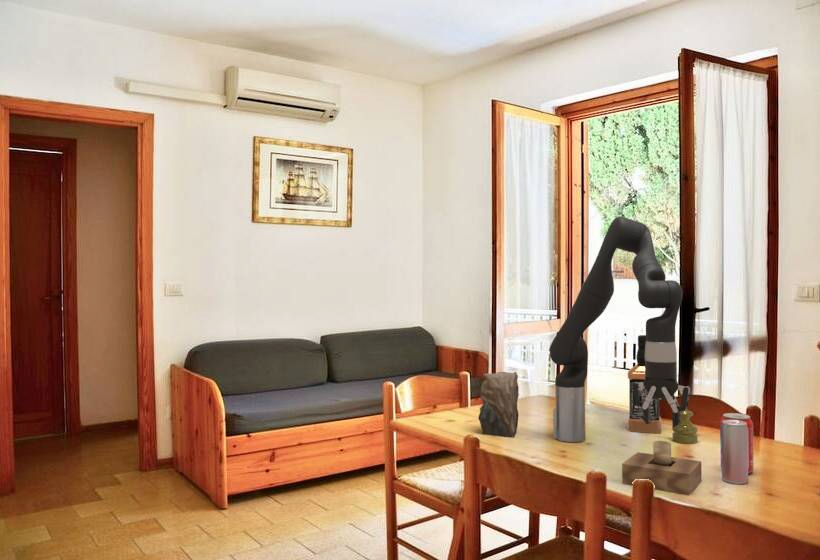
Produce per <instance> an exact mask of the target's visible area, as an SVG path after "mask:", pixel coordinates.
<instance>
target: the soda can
mask: <svg viewBox="0 0 820 560" xmlns="http://www.w3.org/2000/svg"><path fill="white" fill-rule="evenodd" d="M724 420H739V421H744V422H746V423H747V427H748V475H749V474H750V473H753V472H754V469H755V467H754V465H755V463H754V423H753V421H752V420H751V416H750V415H748V414H743V413H733V412H730V413H729V412H727V413H723V414H722V418H721V419H720V421H719V431H720V433H719V434H720V436H719V438H720V439H719V440H720V441H719V442H720V443H719V444H720V445H719V447H720V469H722V430H721V426H722V421H724Z"/></svg>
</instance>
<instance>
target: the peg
mask: <svg viewBox="0 0 820 560" xmlns="http://www.w3.org/2000/svg"><path fill="white" fill-rule="evenodd" d="M652 443H653V446H652V447H653V448H652V449H653V454H654V460H653V462H654V463H655V465H661V466H667V467H670V465H671V464H672V461H671V457H672V443H671V442H670V441H665V440H655V441H653V442H652Z"/></svg>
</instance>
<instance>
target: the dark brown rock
mask: <svg viewBox="0 0 820 560" xmlns="http://www.w3.org/2000/svg"><path fill="white" fill-rule="evenodd" d="M482 375H483V378H484V379H483V380H482V384H481V385H480V390H479V394H480V397H479V398H480V399H481V401H482V406H481V407H479V413H478V420H479V425H480V427H481V431H482V435H485V436H492V437H493V436H495V437H503V438H513V439H515V436H516V434H517V431H518V426H519V425H518V424H519V415H520V414H519V409H518V400H519V399H518V398H519V395H520V393H519V388H520V387H519V384H518V378H519V377H518V374H517V372H516V371H515V372H508V371H507V372H506V371H498V372H496V373H487V372H486V373H483V374H482Z"/></svg>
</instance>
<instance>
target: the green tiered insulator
mask: <svg viewBox="0 0 820 560" xmlns="http://www.w3.org/2000/svg"><path fill="white" fill-rule="evenodd" d="M693 416H694V413H693V412H692V411H690V410H688V408H687V409H686V410H685V411H681V412H680V424H679V425H677V427H676V428H675V427H673V426H671V427H672V428H671V429H672V431H673V432H672V434H671V435H672V440H673V442H676V443H680V444H684V445H685V444H687V445H688V444H690V445H692V444H696V443H698V442H699V441H698V438H699V437H698V436H699V435H698V434H697V433H698V431H699V429H698V427H697V426H696V425H694V424H693V423H692V422H691V421H690V420H691V417H693Z"/></svg>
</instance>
